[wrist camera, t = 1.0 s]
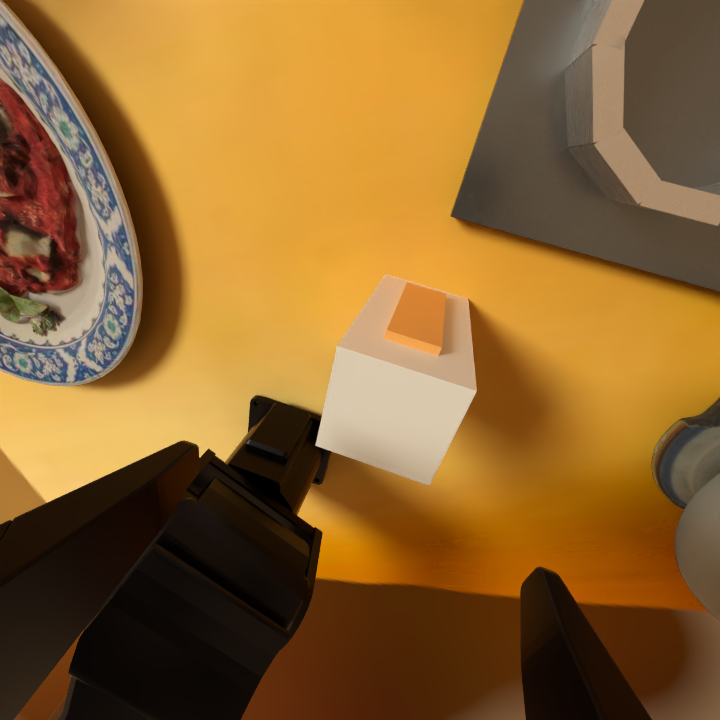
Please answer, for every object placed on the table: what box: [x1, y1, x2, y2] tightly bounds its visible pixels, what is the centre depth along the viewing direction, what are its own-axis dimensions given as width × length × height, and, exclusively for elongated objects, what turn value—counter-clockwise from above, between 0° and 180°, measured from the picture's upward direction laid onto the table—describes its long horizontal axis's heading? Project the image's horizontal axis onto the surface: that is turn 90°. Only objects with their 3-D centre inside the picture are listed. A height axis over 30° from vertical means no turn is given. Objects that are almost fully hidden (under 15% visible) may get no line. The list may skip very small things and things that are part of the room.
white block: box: [315, 274, 477, 486], centre depth 16 cm, size 5×5×9 cm
